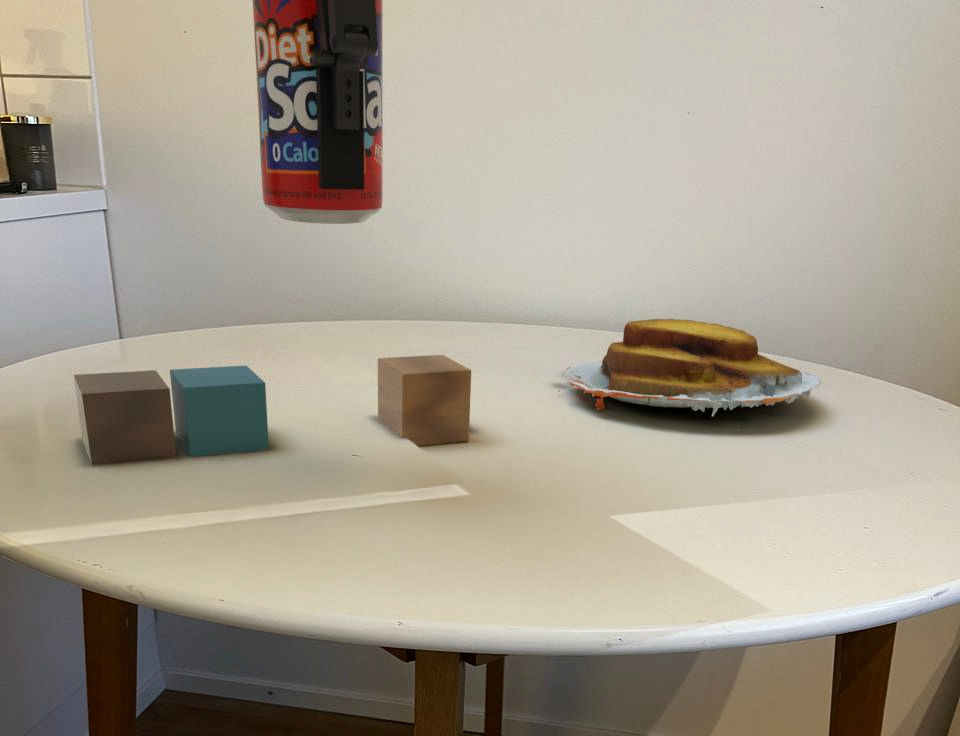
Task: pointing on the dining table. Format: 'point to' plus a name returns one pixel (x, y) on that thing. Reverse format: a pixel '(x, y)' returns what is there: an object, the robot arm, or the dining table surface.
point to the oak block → (425, 398)
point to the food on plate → (689, 368)
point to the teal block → (219, 410)
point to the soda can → (308, 118)
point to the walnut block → (125, 416)
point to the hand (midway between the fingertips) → (322, 183)
